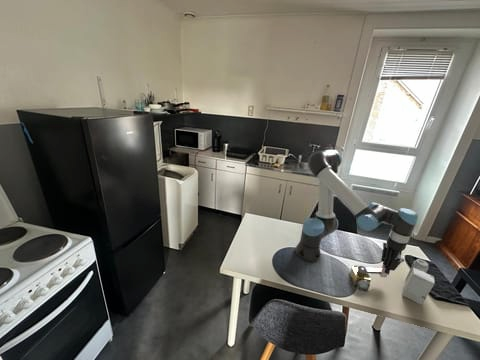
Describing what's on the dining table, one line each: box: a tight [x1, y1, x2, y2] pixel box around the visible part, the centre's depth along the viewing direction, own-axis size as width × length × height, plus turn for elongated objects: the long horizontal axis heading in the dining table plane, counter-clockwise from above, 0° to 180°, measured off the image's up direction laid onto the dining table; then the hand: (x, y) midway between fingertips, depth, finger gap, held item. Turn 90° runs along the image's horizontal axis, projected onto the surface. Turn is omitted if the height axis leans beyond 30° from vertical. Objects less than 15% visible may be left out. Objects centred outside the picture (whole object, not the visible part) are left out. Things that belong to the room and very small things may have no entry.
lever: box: [357, 265, 391, 276], centre depth 109 cm, size 16×4×2 cm, turn 89°
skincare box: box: [401, 268, 435, 306], centre depth 101 cm, size 8×6×15 cm
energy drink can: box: [405, 258, 429, 282], centre depth 109 cm, size 6×6×15 cm
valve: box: [349, 265, 372, 292], centre depth 110 cm, size 13×7×6 cm, turn 171°
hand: (383, 276), depth 107 cm, fingers closed
